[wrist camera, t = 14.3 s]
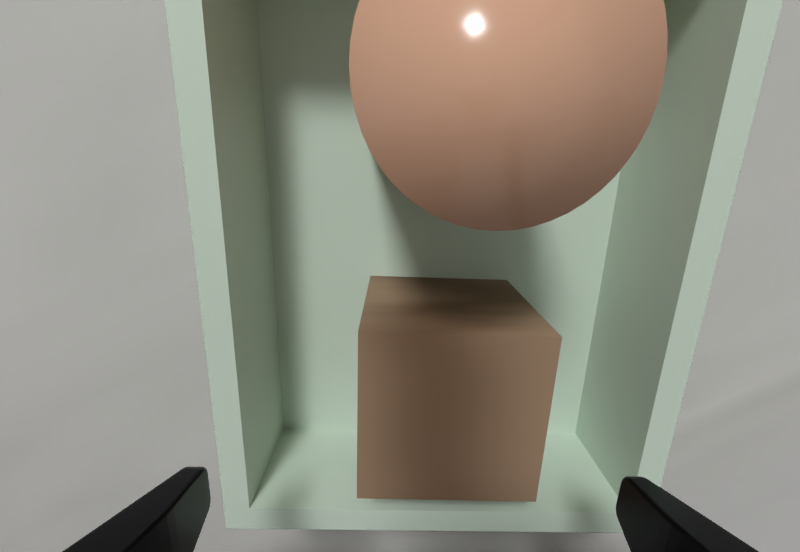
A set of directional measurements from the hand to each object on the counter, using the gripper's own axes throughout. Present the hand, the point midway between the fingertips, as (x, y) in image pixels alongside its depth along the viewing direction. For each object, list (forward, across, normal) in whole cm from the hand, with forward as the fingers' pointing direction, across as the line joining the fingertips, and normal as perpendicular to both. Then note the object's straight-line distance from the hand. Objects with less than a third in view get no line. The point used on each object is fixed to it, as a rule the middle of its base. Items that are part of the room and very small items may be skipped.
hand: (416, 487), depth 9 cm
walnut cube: (+7, -1, 0) cm, 7 cm away
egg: (+7, -1, -8) cm, 11 cm away
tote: (+8, -1, -4) cm, 9 cm away
